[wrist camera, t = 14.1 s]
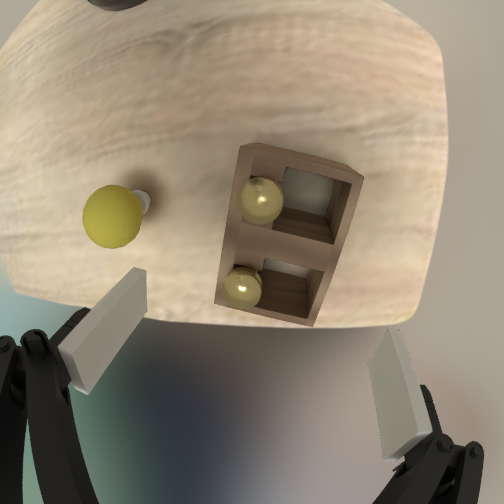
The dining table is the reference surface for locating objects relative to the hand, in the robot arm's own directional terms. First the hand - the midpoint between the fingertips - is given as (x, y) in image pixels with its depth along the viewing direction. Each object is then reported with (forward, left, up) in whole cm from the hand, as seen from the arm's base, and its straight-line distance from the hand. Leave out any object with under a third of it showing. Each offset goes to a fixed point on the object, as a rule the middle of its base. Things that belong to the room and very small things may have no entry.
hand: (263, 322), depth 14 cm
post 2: (+4, -2, -19) cm, 19 cm away
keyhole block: (0, 0, -19) cm, 19 cm away
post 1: (-4, -2, -19) cm, 19 cm away
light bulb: (+2, -17, -19) cm, 26 cm away
